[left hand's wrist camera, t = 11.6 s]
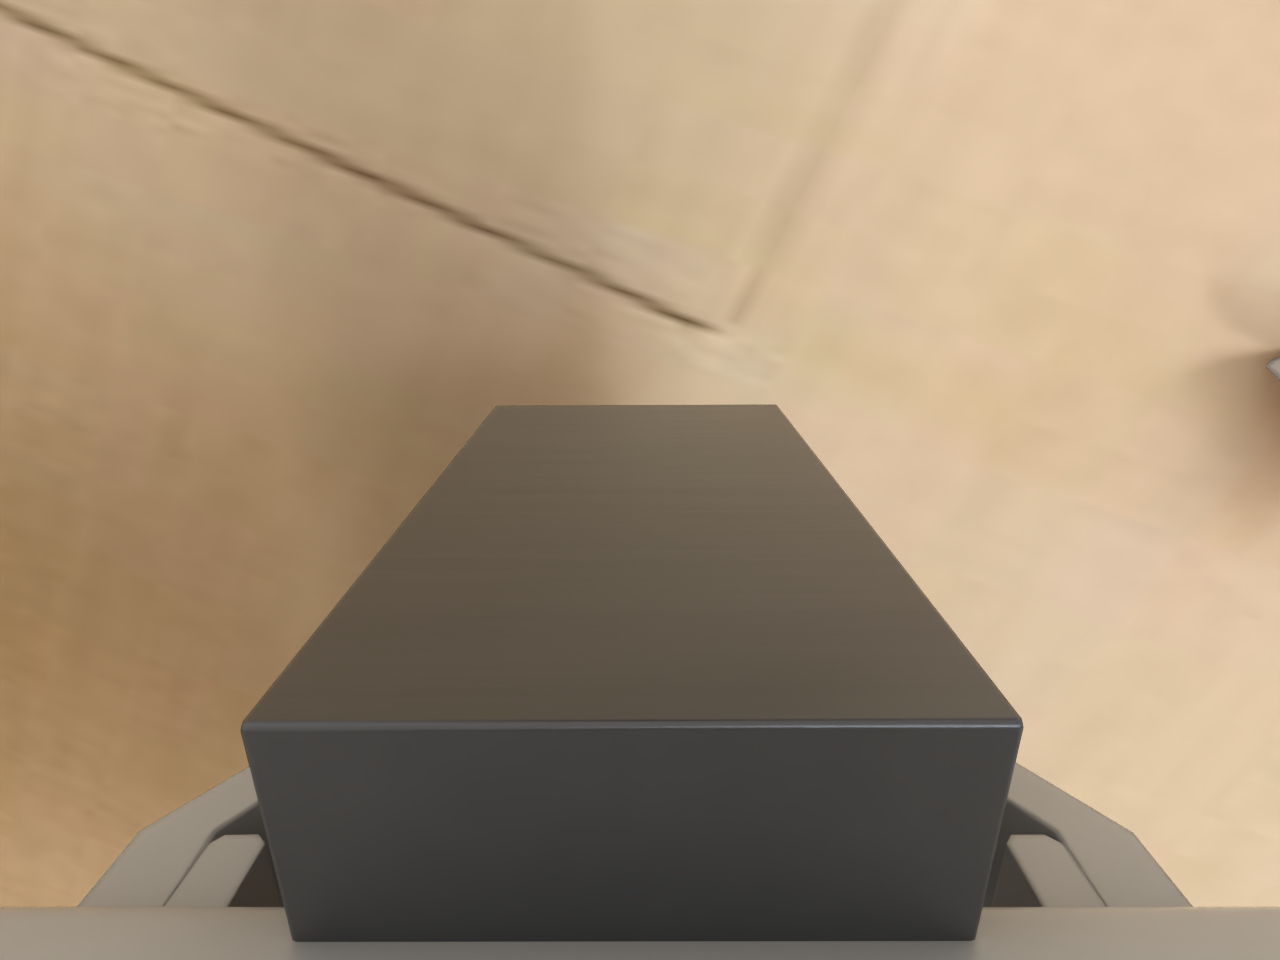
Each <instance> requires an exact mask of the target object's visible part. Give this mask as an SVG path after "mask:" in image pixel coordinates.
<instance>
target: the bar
mask: <svg viewBox="0 0 1280 960" xmlns="http://www.w3.org/2000/svg"><path fill="white" fill-rule="evenodd" d="M1022 731H1023V723H1022V719H1021V717H1020V716H1019V715H1018V713H1017V712H1016V711H1015V710H1014V708H1013V707H1012V706H1011V704H1010V703H1009V702H1008V701H1007V699H1006V698H1005V697H1004V695H1003V694H1002V693H1001V692H1000V690H999V689H998V688H997V687H996V685H995V684H994V683H993V681H992V680H991V679H990V678H989V676H988V675H987V674H986V672H985V671H984V670H983V669H982V667H981V666H980V665H979V663H978V662H977V661H976V660H975V658H974V657H973V656H972V655H971V653H970V652H969V651H968V649H967V648H966V647H965V646H964V644H963V643H962V642H961V640H960V639H959V638H958V637H957V635H956V634H955V633H954V631H953V630H952V629H951V628H950V626H949V625H948V624H947V623H946V621H945V620H944V619H943V617H942V616H941V615H940V614H939V612H938V611H937V610H936V608H935V607H934V606H933V605H932V603H931V602H930V601H929V599H928V598H927V597H926V596H925V594H924V593H923V592H922V591H921V589H920V588H919V587H918V585H917V584H916V583H915V582H914V580H913V579H912V578H911V576H910V575H909V574H908V573H907V571H906V570H905V569H904V567H903V566H902V565H901V564H900V562H899V561H898V560H897V559H896V557H895V556H894V555H893V553H892V552H891V551H890V550H889V548H888V547H887V546H886V544H885V543H884V542H883V541H882V539H881V538H880V537H879V535H878V534H877V533H876V532H875V530H874V529H873V528H872V526H871V525H870V524H869V523H868V521H867V520H866V519H865V518H864V516H863V515H862V514H861V512H860V511H859V510H858V509H857V507H856V506H855V505H854V503H853V502H852V501H851V500H850V498H849V497H848V496H847V494H846V493H845V492H844V491H843V489H842V488H841V487H840V486H839V484H838V483H837V482H836V480H835V479H834V478H833V477H832V475H831V474H830V473H829V471H828V470H827V469H826V468H825V466H824V465H823V464H822V462H821V461H820V460H819V459H818V457H817V456H816V455H815V454H814V452H813V451H812V450H811V448H810V447H809V446H808V445H807V443H806V442H805V441H804V439H803V438H802V437H801V436H800V434H799V433H798V432H797V430H796V429H795V428H794V427H793V425H792V424H791V423H790V422H789V420H788V419H787V418H786V416H785V415H784V414H783V413H782V411H781V410H780V409H779V407H778V406H777V405H586V406H496V407H495V408H494V409H493V411H492V412H491V413H490V414H489V416H488V417H487V418H486V419H485V421H484V422H483V423H482V424H481V426H480V427H479V428H478V429H477V431H476V432H475V433H474V434H473V436H472V437H471V438H470V439H469V441H468V442H467V443H466V444H465V446H464V447H463V448H462V449H461V451H460V452H459V453H458V454H457V456H456V457H455V458H454V459H453V461H452V462H451V463H450V464H449V466H448V467H447V468H446V469H445V470H444V472H443V473H442V474H441V475H440V477H439V478H438V479H437V480H436V482H435V483H434V484H433V485H432V487H431V488H430V489H429V490H428V492H427V493H426V494H425V495H424V497H423V498H422V499H421V500H420V502H419V503H418V504H417V505H416V507H415V508H414V509H413V510H412V512H411V513H410V514H409V515H408V517H407V518H406V519H405V520H404V522H403V523H402V524H401V525H400V527H399V528H398V529H397V530H396V531H395V533H394V534H393V535H392V536H391V538H390V539H389V540H388V541H387V543H386V544H385V545H384V546H383V548H382V549H381V550H380V551H379V553H378V554H377V555H376V556H375V558H374V559H373V560H372V561H371V563H370V564H369V565H368V566H367V568H366V569H365V570H364V571H363V573H362V574H361V575H360V576H359V578H358V579H357V580H356V581H355V583H354V584H353V585H352V586H351V588H350V589H349V590H348V591H347V592H346V594H345V595H344V596H343V597H342V599H341V600H340V601H339V602H338V604H337V605H336V606H335V607H334V609H333V610H332V611H331V612H330V614H329V615H328V616H327V617H326V619H325V620H324V621H323V622H322V624H321V625H320V626H319V627H318V629H317V630H316V631H315V632H314V634H313V635H312V636H311V637H310V639H309V640H308V641H307V642H306V644H305V645H304V646H303V647H302V649H301V650H300V651H299V652H298V653H297V655H296V656H295V657H294V658H293V660H292V661H291V662H290V663H289V665H288V666H287V667H286V668H285V670H284V671H283V672H282V673H281V675H280V676H279V677H278V678H277V680H276V681H275V682H274V683H273V685H272V686H271V687H270V688H269V690H268V691H267V692H266V693H265V695H264V696H263V697H262V698H261V700H260V701H259V702H258V703H257V705H256V706H255V707H254V708H253V710H252V711H251V712H250V713H249V714H248V716H247V717H246V718H245V719H244V721H243V723H242V726H241V734H242V738H243V742H244V746H245V750H246V754H247V758H248V763H249V767H250V771H251V775H252V779H253V783H254V787H255V791H256V795H257V799H258V803H259V807H260V811H261V815H262V819H263V823H264V827H265V831H266V835H267V839H268V844H269V848H270V852H271V856H272V860H273V864H274V868H275V872H276V876H277V880H278V884H279V888H280V892H281V896H282V900H283V904H284V908H285V912H286V916H287V921H288V925H289V929H290V933H291V937H292V940H293V941H296V942H631V941H972V940H974V939H975V938H976V934H977V929H978V925H979V921H980V916H981V912H982V907H983V903H984V899H985V894H986V890H987V885H988V881H989V877H990V872H991V868H992V863H993V859H994V854H995V850H996V846H997V841H998V837H999V832H1000V828H1001V824H1002V819H1003V815H1004V810H1005V806H1006V802H1007V797H1008V793H1009V788H1010V784H1011V780H1012V775H1013V771H1014V766H1015V762H1016V758H1017V753H1018V749H1019V744H1020V740H1021V735H1022Z"/></svg>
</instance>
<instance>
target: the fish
mask: <svg viewBox="0 0 1280 960" xmlns="http://www.w3.org/2000/svg"><path fill="white" fill-rule="evenodd" d="M1266 367H1267V368H1268V369H1269V370H1270V371H1271V372H1272V373H1273V374H1274V375H1275V376H1276V377H1277V378H1278V379H1279V380H1280V356H1279V357H1277V358H1275V359H1273V360H1271V361H1270V362H1269V363H1268V364H1267V366H1266Z"/></svg>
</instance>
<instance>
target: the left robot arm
mask: <svg viewBox="0 0 1280 960" xmlns="http://www.w3.org/2000/svg"><path fill="white" fill-rule="evenodd" d="M0 960H1280V907H1193V906H1192V905H1191V904H1190V903H1189V901H1188V900H1187V899H1186V898H1185V896H1184V895H1183V894H1182V893H1181V891H1180V890H1179V889H1178V888H1177V887H1176V885H1175V884H1174V883H1173V882H1172V880H1171V879H1170V878H1169V877H1168V875H1167V874H1166V873H1165V872H1164V870H1163V869H1162V868H1161V867H1160V865H1159V864H1158V863H1157V862H1156V861H1155V859H1154V858H1153V857H1152V856H1151V854H1150V853H1149V852H1148V851H1147V849H1146V848H1145V847H1144V846H1143V844H1142V843H1141V842H1140V841H1139V839H1138V838H1137V837H1136V836H1135V835H1134V833H1133V832H1131V831H1129V830H1128V829H1126V828H1124V827H1123V826H1121V825H1119V824H1118V823H1116V822H1114V821H1113V820H1111V819H1109V818H1108V817H1106V816H1104V815H1103V814H1101V813H1099V812H1098V811H1096V810H1094V809H1093V808H1091V807H1089V806H1088V805H1086V804H1084V803H1083V802H1081V801H1079V800H1078V799H1076V798H1074V797H1073V796H1071V795H1069V794H1068V793H1066V792H1064V791H1063V790H1061V789H1059V788H1058V787H1056V786H1054V785H1053V784H1051V783H1049V782H1048V781H1046V780H1044V779H1043V778H1041V777H1039V776H1038V775H1036V774H1034V773H1033V772H1031V771H1029V770H1028V769H1026V768H1024V767H1023V766H1021V765H1019V764H1018V763H1016V762H1015V766H1014V771H1013V775H1012V780H1011V784H1010V788H1009V793H1008V797H1007V802H1006V806H1005V810H1004V815H1003V819H1002V824H1001V828H1000V832H999V837H998V841H997V846H996V850H995V854H994V859H993V863H992V868H991V872H990V877H989V881H988V885H987V890H986V894H985V899H984V903H983V907H982V912H981V916H980V921H979V925H978V929H977V934H976V938H975V939H974V940H972V941H631V942H296V941H293V940H292V937H291V933H290V929H289V925H288V921H287V916H286V912H285V908H284V904H283V900H282V896H281V892H280V888H279V884H278V880H277V876H276V872H275V868H274V864H273V860H272V856H271V852H270V848H269V844H268V839H267V835H266V831H265V827H264V823H263V819H262V815H261V811H260V807H259V803H258V799H257V795H256V791H255V787H254V783H253V779H252V775H251V771H250V767H248V768H246V769H244V770H243V771H241V772H239V773H238V774H236V775H234V776H232V777H231V778H229V779H227V780H226V781H224V782H222V783H221V784H219V785H217V786H216V787H214V788H212V789H211V790H209V791H207V792H205V793H204V794H202V795H200V796H199V797H197V798H195V799H194V800H192V801H190V802H189V803H187V804H185V805H183V806H182V807H180V808H178V809H177V810H175V811H173V812H172V813H170V814H168V815H167V816H165V817H163V818H162V819H160V820H158V821H156V822H155V823H153V824H151V825H150V826H148V827H146V828H145V829H143V830H141V831H140V832H139V833H138V834H137V835H136V836H135V838H134V839H133V840H132V841H131V842H130V844H129V845H128V846H127V847H126V848H125V850H124V851H123V852H122V853H121V854H120V856H119V857H118V858H117V859H116V860H115V862H114V863H113V864H112V865H111V867H110V868H109V869H108V870H107V871H106V873H105V874H104V875H103V876H102V877H101V879H100V880H99V881H98V882H97V883H96V885H95V886H94V887H93V888H92V889H91V891H90V892H89V893H88V894H87V896H86V897H85V898H84V899H83V900H82V902H81V903H80V904H79V905H78V906H77V907H0Z"/></svg>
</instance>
